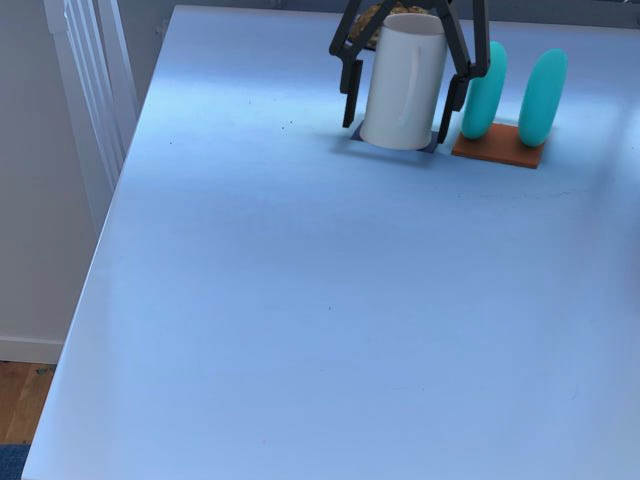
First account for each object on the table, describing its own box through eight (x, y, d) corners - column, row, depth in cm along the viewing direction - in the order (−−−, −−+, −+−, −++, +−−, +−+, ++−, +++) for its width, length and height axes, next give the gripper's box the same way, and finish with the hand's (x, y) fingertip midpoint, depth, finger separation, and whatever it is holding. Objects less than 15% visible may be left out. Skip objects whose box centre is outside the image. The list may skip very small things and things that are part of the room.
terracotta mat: (547, 135, 116) (548, 131, 116) (536, 168, 110) (537, 164, 109) (466, 122, 119) (467, 118, 118) (450, 154, 112) (451, 149, 112)
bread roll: (438, 33, 143) (446, -6, 139) (427, 58, 135) (436, 18, 131) (354, 23, 145) (360, -15, 141) (339, 47, 137) (345, 7, 133)
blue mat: (441, 136, 115) (442, 132, 115) (422, 173, 108) (423, 169, 108) (362, 123, 118) (362, 119, 117) (338, 158, 110) (338, 154, 110)
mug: (428, 166, 108) (455, 48, 99) (354, 158, 109) (373, 41, 100) (431, 128, 116) (456, 15, 107) (362, 121, 117) (381, 9, 108)
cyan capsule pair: (461, 120, 118) (483, 28, 110) (543, 130, 116) (571, 38, 109) (455, 150, 111) (478, 55, 104) (542, 161, 110) (572, 65, 102)
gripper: (560, -97, 95) (497, 136, 111) (337, -120, 100) (309, 105, 117) (551, -81, 90) (487, 159, 107) (319, -107, 95) (292, 126, 112)
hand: (394, 131), depth 112 cm, fingers open, 11 cm apart
